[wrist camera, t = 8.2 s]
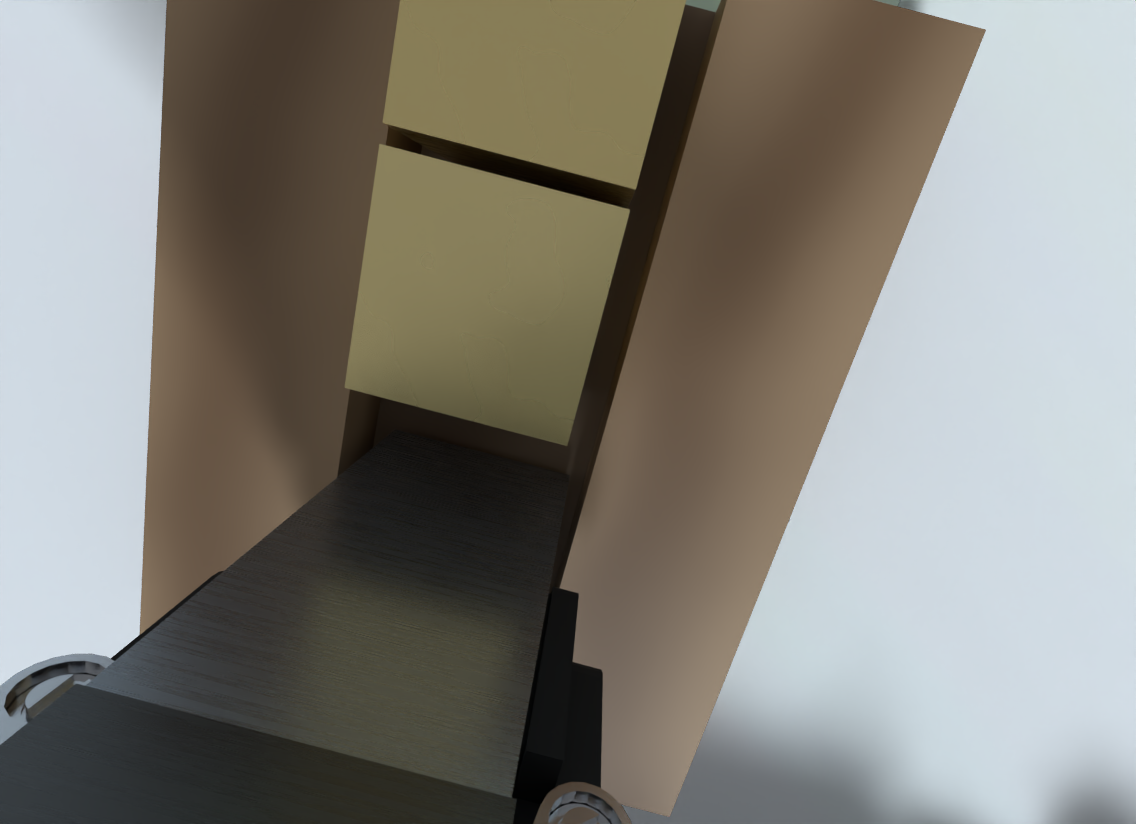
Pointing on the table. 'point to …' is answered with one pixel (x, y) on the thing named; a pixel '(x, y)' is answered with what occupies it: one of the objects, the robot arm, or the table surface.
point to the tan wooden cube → (535, 87)
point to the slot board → (625, 336)
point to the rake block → (325, 665)
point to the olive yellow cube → (480, 294)
